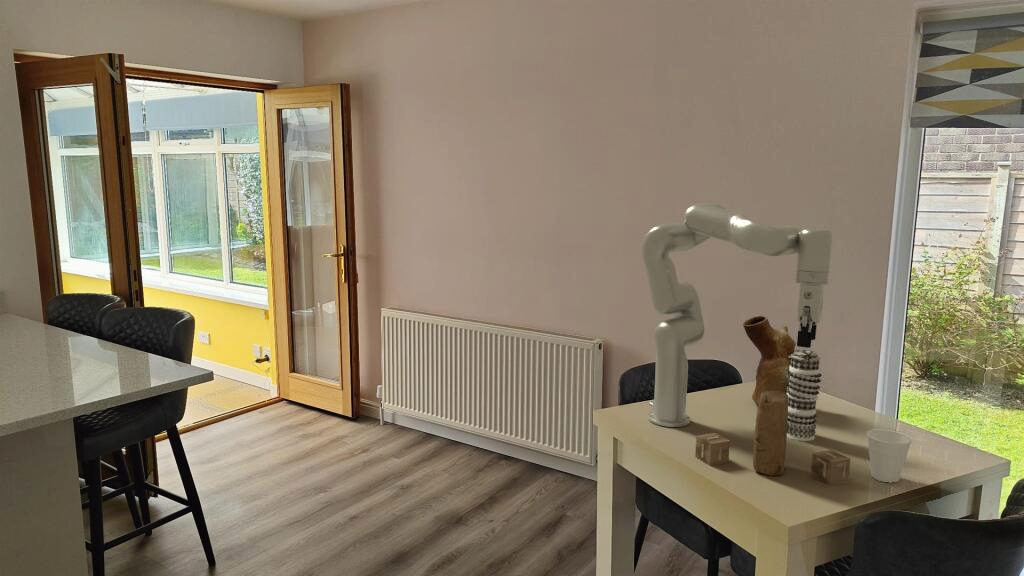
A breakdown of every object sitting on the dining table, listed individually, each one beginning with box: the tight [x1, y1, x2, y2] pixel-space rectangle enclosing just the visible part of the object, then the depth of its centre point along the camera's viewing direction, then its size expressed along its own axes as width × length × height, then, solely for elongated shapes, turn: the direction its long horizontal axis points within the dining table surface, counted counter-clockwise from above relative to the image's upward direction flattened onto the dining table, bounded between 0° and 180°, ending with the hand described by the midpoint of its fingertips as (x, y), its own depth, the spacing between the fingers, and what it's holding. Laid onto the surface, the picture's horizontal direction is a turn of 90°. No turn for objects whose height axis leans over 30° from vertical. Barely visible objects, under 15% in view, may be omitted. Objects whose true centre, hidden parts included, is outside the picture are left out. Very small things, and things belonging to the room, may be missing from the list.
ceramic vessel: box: [742, 315, 797, 406], centre depth 222 cm, size 16×22×30 cm
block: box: [752, 391, 788, 476], centre depth 174 cm, size 11×8×20 cm
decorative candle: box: [786, 348, 822, 442], centre depth 197 cm, size 9×9×25 cm
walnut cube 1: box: [694, 432, 731, 467], centre depth 180 cm, size 6×6×6 cm
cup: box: [866, 428, 913, 484], centre depth 170 cm, size 10×10×11 cm
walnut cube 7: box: [810, 449, 851, 486], centre depth 170 cm, size 6×6×6 cm
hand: (806, 343), depth 177 cm, fingers open, 9 cm apart
